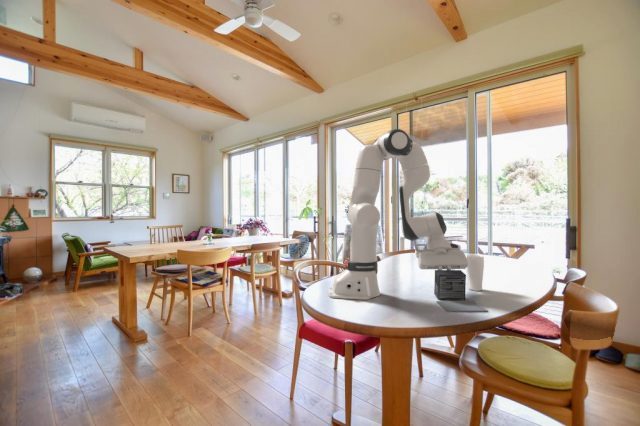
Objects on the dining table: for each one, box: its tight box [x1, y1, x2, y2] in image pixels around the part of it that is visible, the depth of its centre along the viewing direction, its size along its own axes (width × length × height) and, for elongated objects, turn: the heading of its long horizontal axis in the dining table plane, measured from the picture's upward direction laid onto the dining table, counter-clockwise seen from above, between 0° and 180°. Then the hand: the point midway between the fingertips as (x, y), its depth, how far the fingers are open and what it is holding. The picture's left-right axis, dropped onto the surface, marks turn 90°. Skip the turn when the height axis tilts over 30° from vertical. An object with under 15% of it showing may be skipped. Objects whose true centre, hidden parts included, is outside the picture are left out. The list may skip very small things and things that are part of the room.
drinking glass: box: [466, 254, 485, 292], centre depth 135 cm, size 7×7×15 cm
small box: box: [433, 269, 467, 301], centre depth 123 cm, size 11×6×10 cm, turn 84°
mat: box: [436, 300, 489, 313], centre depth 112 cm, size 14×11×1 cm
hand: (447, 276), depth 126 cm, fingers closed, pressing on small box
